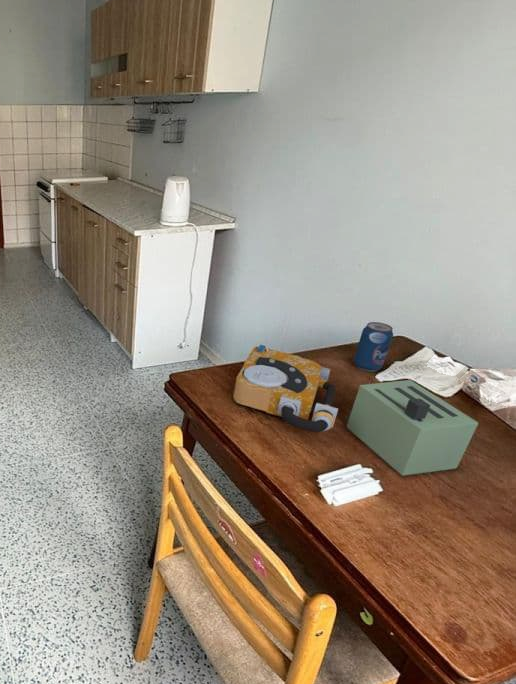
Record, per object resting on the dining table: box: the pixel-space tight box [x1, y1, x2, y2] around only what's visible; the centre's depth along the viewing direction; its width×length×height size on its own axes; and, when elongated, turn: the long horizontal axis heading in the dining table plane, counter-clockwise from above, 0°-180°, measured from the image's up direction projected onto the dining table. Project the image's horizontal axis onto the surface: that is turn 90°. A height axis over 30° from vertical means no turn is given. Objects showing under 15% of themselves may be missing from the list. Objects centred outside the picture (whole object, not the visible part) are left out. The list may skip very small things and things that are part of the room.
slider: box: [404, 399, 430, 420], centre depth 89 cm, size 2×2×3 cm
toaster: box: [346, 379, 479, 476], centre depth 96 cm, size 12×16×11 cm
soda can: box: [353, 321, 394, 372], centre depth 126 cm, size 7×7×12 cm
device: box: [233, 344, 339, 433], centre depth 112 cm, size 23×8×30 cm
